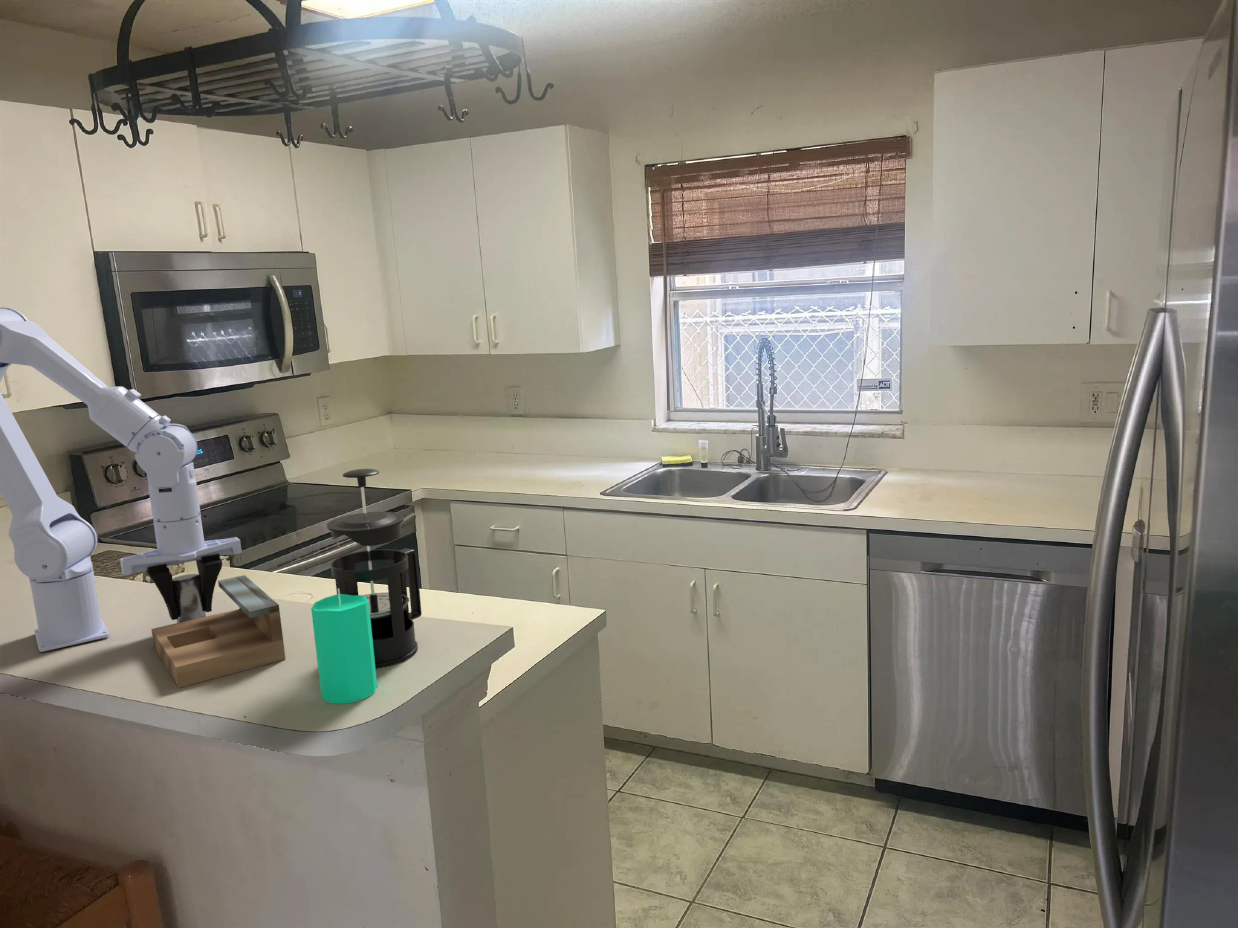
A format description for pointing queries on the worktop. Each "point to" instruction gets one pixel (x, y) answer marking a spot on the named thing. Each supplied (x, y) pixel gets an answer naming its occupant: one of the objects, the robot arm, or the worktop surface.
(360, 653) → the candle
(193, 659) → the socket board
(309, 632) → the worktop surface
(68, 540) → the robot arm
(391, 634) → the french press
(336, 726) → the worktop surface
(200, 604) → the peg
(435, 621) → the worktop surface
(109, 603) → the worktop surface
